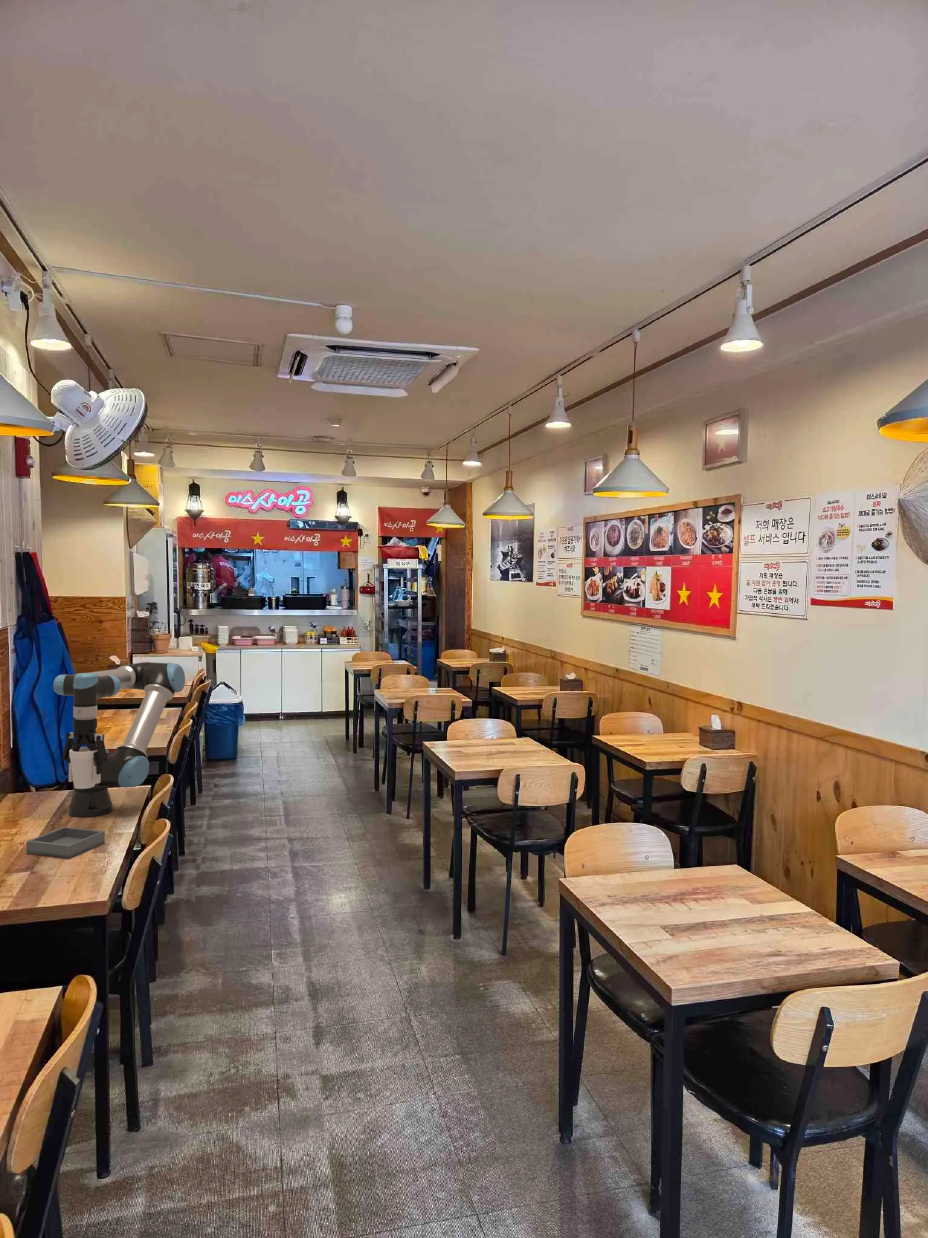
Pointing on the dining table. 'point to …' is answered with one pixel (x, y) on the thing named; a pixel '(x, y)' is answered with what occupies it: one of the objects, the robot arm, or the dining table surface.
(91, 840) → the tray
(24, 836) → the dining table surface
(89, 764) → the foam cup
